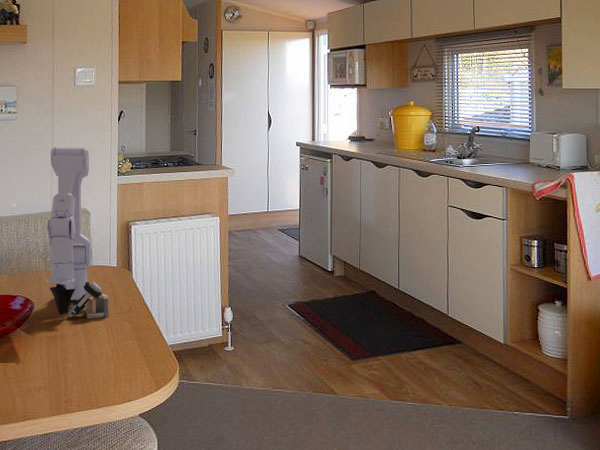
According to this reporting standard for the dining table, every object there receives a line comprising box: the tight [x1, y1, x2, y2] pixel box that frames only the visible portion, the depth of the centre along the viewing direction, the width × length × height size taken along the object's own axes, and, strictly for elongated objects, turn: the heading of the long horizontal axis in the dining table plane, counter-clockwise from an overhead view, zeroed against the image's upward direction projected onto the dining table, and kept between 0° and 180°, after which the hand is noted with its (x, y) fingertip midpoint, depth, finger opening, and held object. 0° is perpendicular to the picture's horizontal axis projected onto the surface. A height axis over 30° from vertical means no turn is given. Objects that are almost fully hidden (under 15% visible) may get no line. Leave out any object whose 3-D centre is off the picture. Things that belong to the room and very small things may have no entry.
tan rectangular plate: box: [85, 297, 97, 315], centre depth 193 cm, size 6×1×4 cm, turn 35°
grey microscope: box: [68, 280, 103, 318], centre depth 191 cm, size 7×5×10 cm
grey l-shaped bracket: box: [79, 293, 109, 320], centre depth 194 cm, size 9×6×6 cm, turn 35°
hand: (63, 313), depth 189 cm, fingers closed
